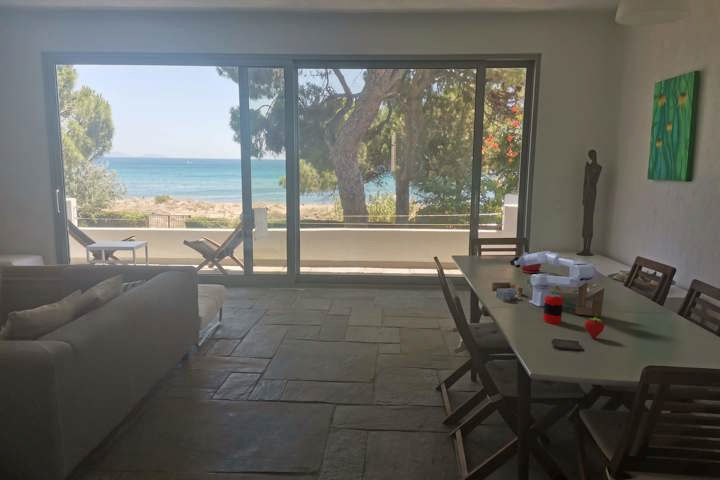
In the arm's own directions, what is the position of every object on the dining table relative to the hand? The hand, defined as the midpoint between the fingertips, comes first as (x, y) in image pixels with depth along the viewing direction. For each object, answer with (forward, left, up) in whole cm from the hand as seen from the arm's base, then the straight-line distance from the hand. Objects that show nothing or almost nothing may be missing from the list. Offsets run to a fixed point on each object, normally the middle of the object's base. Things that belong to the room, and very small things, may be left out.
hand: (516, 261), depth 265 cm
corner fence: (+1, +4, -18) cm, 18 cm away
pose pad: (-1, +6, -18) cm, 19 cm away
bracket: (-11, +10, -18) cm, 23 cm away
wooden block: (-42, -15, -18) cm, 48 cm away
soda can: (-48, +7, -18) cm, 52 cm away
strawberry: (-70, +2, -18) cm, 72 cm away
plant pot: (+50, -37, -18) cm, 65 cm away
